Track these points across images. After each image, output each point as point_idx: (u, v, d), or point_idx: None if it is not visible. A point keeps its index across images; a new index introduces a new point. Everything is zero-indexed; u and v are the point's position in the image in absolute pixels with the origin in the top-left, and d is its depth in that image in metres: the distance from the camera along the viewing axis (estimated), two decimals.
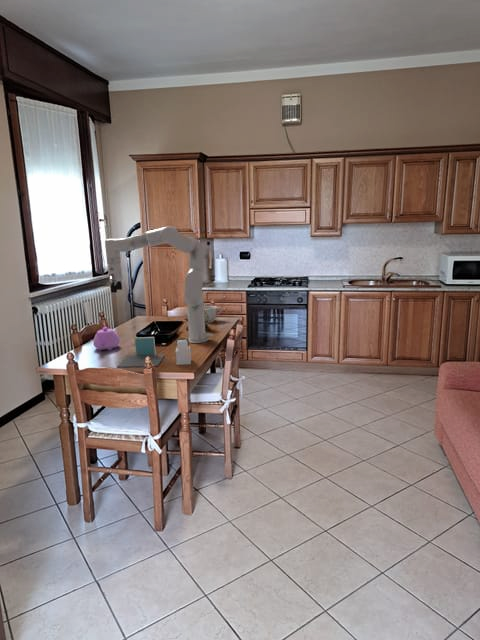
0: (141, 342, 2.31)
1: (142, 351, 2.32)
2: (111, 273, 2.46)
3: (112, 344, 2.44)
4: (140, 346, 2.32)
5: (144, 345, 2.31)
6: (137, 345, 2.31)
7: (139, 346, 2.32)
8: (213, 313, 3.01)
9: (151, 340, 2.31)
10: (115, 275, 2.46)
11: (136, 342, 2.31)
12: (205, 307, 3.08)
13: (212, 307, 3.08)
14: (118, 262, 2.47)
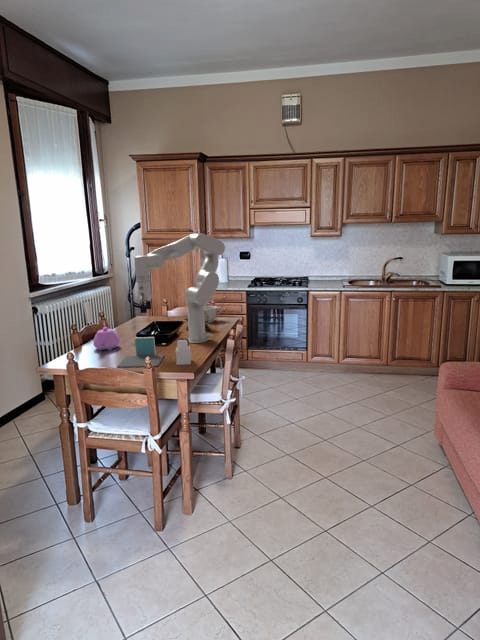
0: (141, 342, 2.31)
1: (142, 351, 2.32)
2: (141, 292, 2.30)
3: (112, 344, 2.44)
4: (140, 346, 2.32)
5: (144, 345, 2.31)
6: (137, 345, 2.31)
7: (139, 346, 2.32)
8: (213, 313, 3.01)
9: (151, 340, 2.31)
10: (145, 294, 2.30)
11: (136, 342, 2.31)
12: (205, 307, 3.08)
13: (212, 307, 3.08)
14: (148, 280, 2.32)
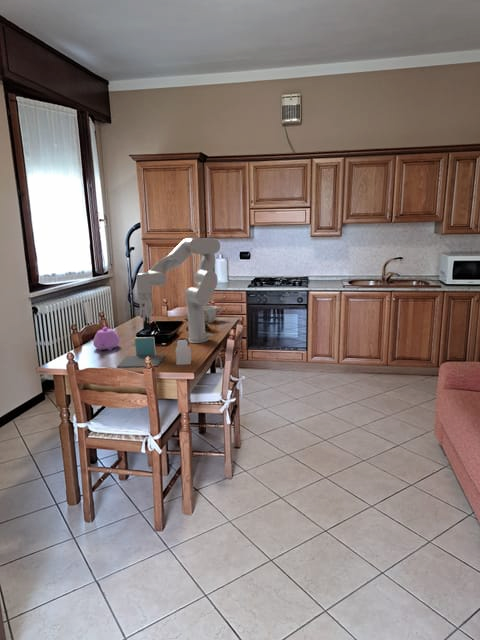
0: (141, 342, 2.31)
1: (142, 351, 2.32)
2: (142, 309, 2.32)
3: (112, 344, 2.44)
4: (140, 346, 2.32)
5: (144, 345, 2.31)
6: (137, 345, 2.31)
7: (139, 346, 2.32)
8: (213, 313, 3.01)
9: (151, 340, 2.31)
10: (146, 311, 2.32)
11: (136, 342, 2.31)
12: (205, 307, 3.08)
13: (212, 307, 3.08)
14: (150, 298, 2.34)
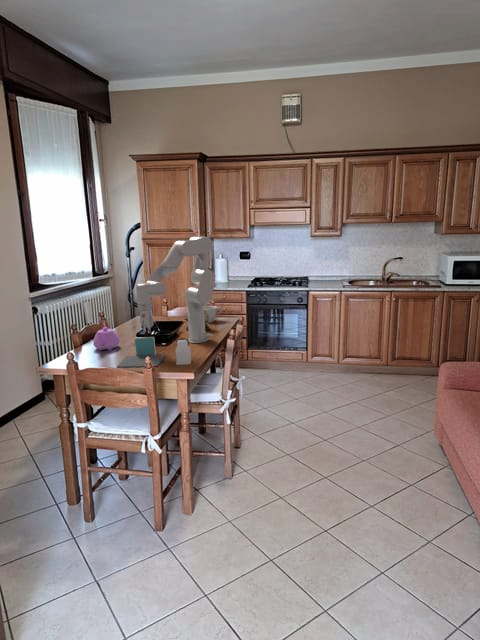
0: (141, 342, 2.31)
1: (142, 351, 2.32)
2: (143, 320, 2.31)
3: (112, 344, 2.44)
4: (140, 346, 2.32)
5: (144, 345, 2.31)
6: (137, 345, 2.31)
7: (139, 346, 2.32)
8: (213, 313, 3.01)
9: (151, 340, 2.31)
10: (147, 322, 2.31)
11: (136, 342, 2.31)
12: (205, 307, 3.08)
13: (212, 307, 3.08)
14: (150, 308, 2.33)
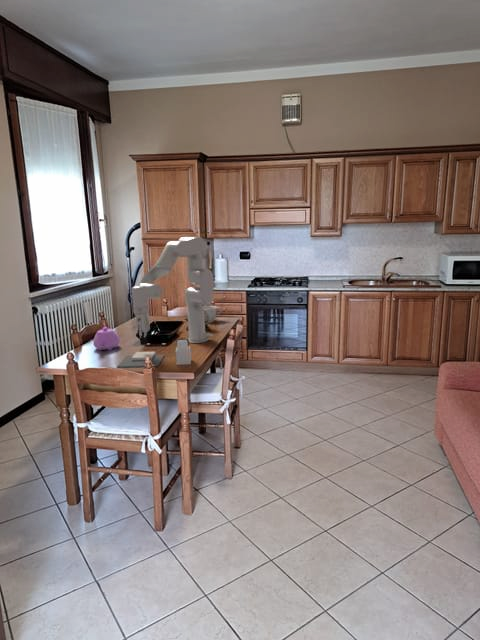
0: None
1: None
2: (138, 324, 2.23)
3: (112, 344, 2.44)
4: None
5: None
6: None
7: None
8: (213, 313, 3.01)
9: None
10: (143, 326, 2.23)
11: None
12: (205, 307, 3.08)
13: (212, 307, 3.08)
14: (146, 312, 2.24)
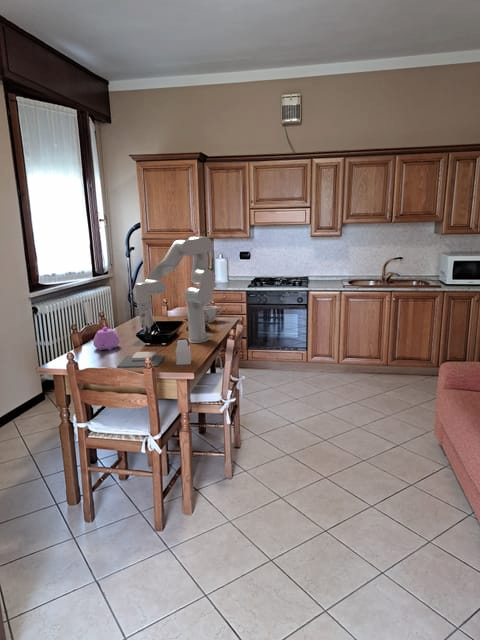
0: None
1: None
2: (142, 320, 2.29)
3: (112, 344, 2.44)
4: None
5: None
6: None
7: None
8: (213, 313, 3.01)
9: None
10: (147, 322, 2.30)
11: None
12: (205, 307, 3.08)
13: (212, 307, 3.08)
14: (149, 307, 2.31)
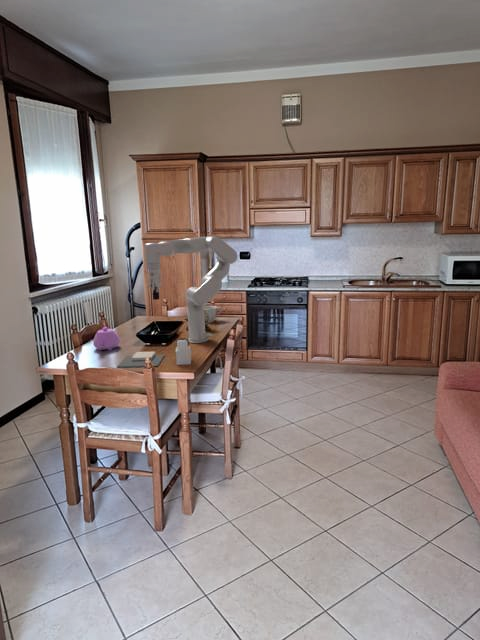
0: None
1: None
2: (151, 279, 2.36)
3: (112, 344, 2.44)
4: None
5: None
6: None
7: None
8: (213, 313, 3.01)
9: None
10: (155, 281, 2.36)
11: None
12: (205, 307, 3.08)
13: (212, 307, 3.08)
14: (158, 267, 2.38)
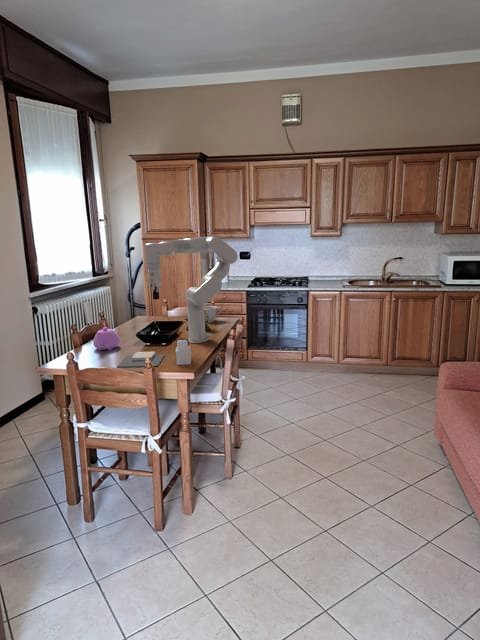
0: None
1: None
2: (151, 278, 2.36)
3: (112, 344, 2.44)
4: None
5: None
6: None
7: None
8: (213, 313, 3.01)
9: None
10: (156, 281, 2.37)
11: None
12: (205, 307, 3.08)
13: (212, 307, 3.08)
14: (158, 267, 2.38)
